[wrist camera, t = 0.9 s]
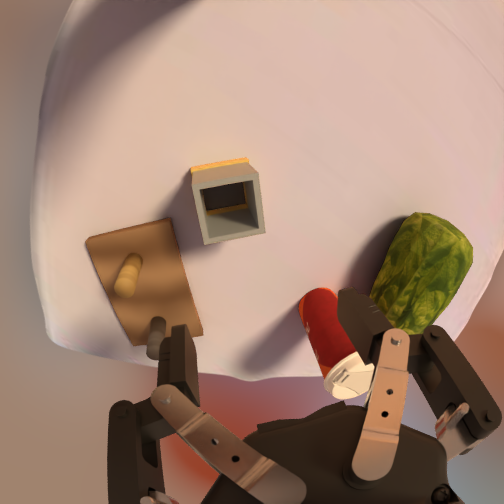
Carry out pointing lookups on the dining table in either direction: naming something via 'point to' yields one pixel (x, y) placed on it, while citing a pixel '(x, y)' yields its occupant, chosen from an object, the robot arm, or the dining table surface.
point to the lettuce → (421, 272)
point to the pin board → (145, 282)
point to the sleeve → (234, 217)
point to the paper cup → (333, 346)
